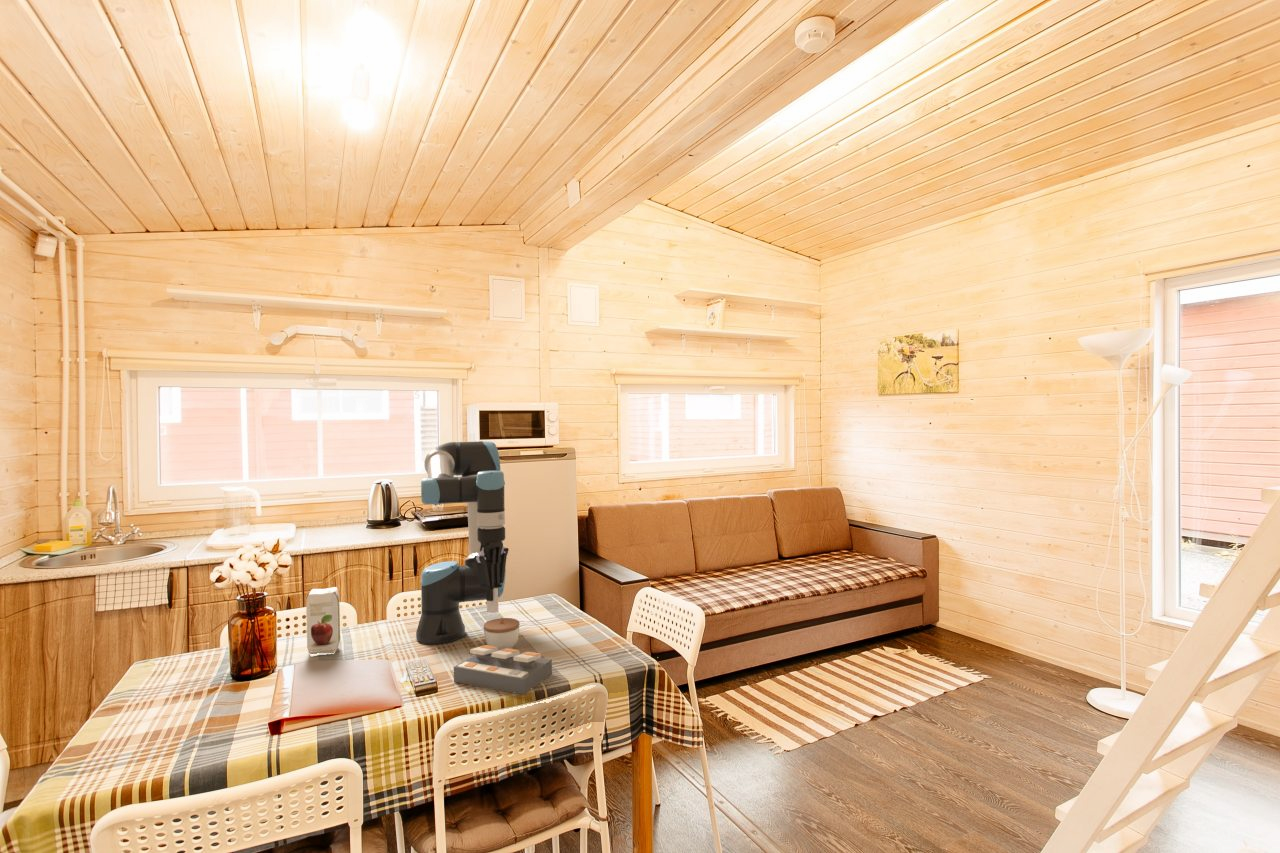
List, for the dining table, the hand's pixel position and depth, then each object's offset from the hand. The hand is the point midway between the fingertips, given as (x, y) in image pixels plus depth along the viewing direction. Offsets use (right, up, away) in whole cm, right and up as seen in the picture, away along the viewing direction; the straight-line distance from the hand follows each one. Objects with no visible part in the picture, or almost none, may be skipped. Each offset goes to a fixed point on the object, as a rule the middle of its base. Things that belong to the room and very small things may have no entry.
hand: (492, 611), depth 175 cm
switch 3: (+11, -11, -6) cm, 17 cm away
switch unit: (+4, -17, -4) cm, 18 cm away
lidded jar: (-1, -17, +18) cm, 25 cm away
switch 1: (-2, -11, 0) cm, 12 cm away
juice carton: (-55, -18, +16) cm, 60 cm away
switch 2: (+4, -11, -3) cm, 12 cm away
